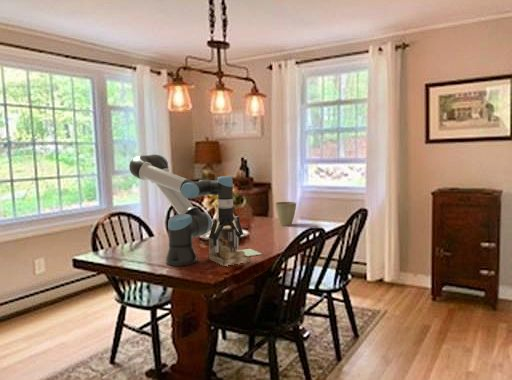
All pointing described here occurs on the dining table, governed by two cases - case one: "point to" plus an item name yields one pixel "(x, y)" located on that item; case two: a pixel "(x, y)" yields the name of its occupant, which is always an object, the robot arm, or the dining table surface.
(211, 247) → the rack
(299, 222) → the dining table surface
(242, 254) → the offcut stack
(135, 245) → the dining table surface
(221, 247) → the coffee box
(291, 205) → the plant pot
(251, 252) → the felt mat
